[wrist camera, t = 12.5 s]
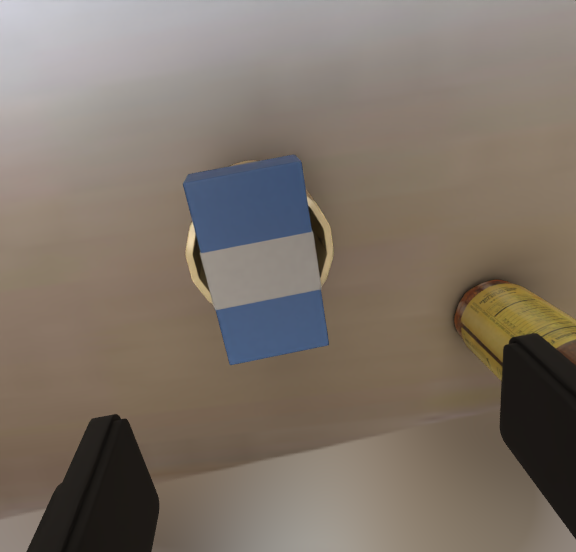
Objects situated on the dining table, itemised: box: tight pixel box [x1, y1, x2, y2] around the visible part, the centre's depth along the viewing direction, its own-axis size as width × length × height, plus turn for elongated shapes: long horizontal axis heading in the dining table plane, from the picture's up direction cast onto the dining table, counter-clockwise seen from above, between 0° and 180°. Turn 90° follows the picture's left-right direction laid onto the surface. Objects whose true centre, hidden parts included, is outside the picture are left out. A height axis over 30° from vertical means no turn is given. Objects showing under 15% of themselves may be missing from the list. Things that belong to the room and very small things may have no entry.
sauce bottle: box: [454, 280, 576, 381], centre depth 27 cm, size 7×6×20 cm
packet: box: [183, 155, 329, 365], centre depth 23 cm, size 10×6×2 cm, turn 9°
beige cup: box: [185, 160, 334, 304], centre depth 28 cm, size 8×8×8 cm
